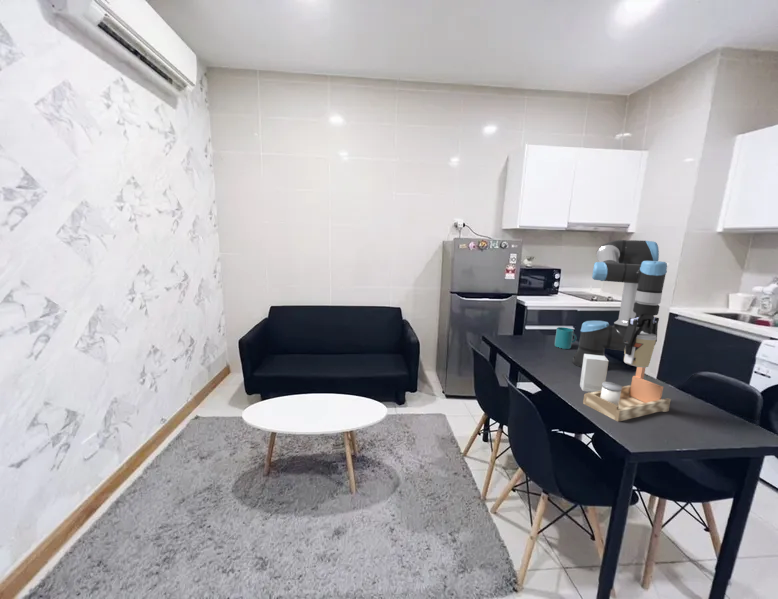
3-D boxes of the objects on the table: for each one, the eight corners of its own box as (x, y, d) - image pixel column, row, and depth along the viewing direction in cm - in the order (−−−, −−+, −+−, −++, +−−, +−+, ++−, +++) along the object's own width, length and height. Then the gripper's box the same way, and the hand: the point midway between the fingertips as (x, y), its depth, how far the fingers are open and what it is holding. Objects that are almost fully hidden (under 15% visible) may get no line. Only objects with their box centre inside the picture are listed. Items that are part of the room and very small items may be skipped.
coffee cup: (615, 359, 133) (620, 329, 131) (637, 359, 134) (642, 330, 131) (634, 368, 124) (640, 336, 121) (657, 368, 125) (664, 337, 122)
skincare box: (600, 389, 147) (605, 355, 144) (604, 396, 141) (610, 360, 138) (578, 386, 150) (583, 352, 147) (581, 392, 144) (586, 357, 141)
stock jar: (605, 404, 132) (609, 380, 130) (621, 412, 126) (626, 387, 124) (594, 407, 129) (598, 382, 128) (610, 415, 124) (614, 389, 122)
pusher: (634, 394, 141) (642, 351, 138) (663, 406, 132) (672, 360, 128) (629, 395, 140) (637, 351, 137) (657, 408, 130) (667, 361, 127)
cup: (578, 350, 201) (581, 331, 199) (558, 349, 201) (561, 330, 199) (571, 345, 210) (573, 327, 207) (551, 344, 210) (554, 326, 208)
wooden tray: (631, 394, 143) (633, 382, 142) (668, 410, 131) (671, 397, 129) (582, 405, 133) (584, 391, 131) (617, 423, 120) (620, 408, 119)
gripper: (654, 300, 132) (644, 355, 136) (617, 302, 124) (607, 360, 128) (676, 304, 125) (664, 362, 129) (638, 306, 117) (627, 368, 121)
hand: (636, 361), depth 129 cm, fingers closed on coffee cup, 9 cm apart
